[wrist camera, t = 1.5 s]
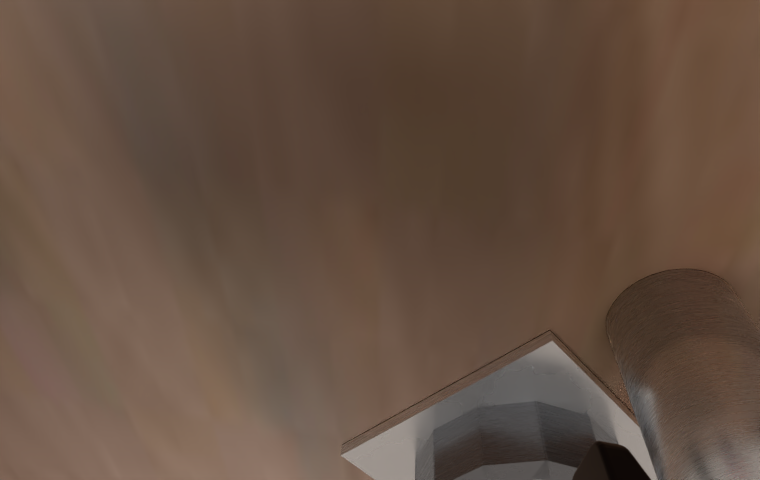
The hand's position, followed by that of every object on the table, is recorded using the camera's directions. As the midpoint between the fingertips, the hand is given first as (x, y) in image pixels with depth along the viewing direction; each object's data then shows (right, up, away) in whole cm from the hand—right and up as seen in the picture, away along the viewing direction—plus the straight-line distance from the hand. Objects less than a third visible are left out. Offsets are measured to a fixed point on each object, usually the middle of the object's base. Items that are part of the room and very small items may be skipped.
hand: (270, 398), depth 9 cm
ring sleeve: (+8, -8, +22) cm, 25 cm away
